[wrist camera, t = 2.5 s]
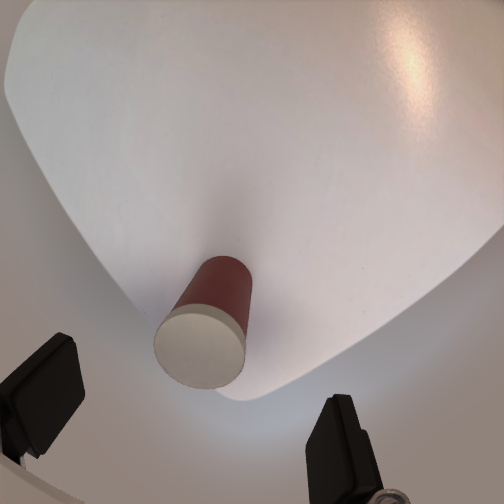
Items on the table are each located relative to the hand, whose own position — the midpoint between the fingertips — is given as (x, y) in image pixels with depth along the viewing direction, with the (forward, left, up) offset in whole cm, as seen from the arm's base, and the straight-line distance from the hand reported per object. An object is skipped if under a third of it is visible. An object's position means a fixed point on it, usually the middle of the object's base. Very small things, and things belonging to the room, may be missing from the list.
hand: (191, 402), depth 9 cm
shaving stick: (0, 0, -12) cm, 12 cm away
